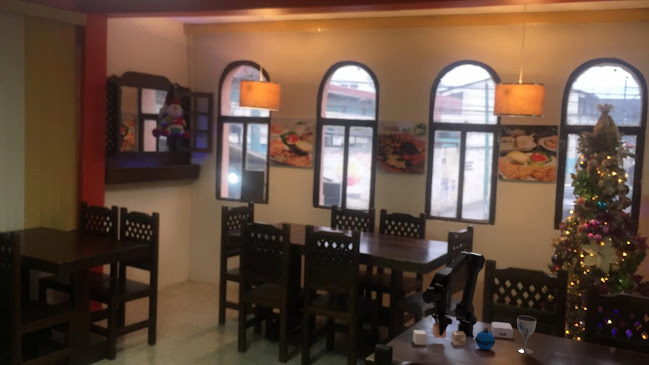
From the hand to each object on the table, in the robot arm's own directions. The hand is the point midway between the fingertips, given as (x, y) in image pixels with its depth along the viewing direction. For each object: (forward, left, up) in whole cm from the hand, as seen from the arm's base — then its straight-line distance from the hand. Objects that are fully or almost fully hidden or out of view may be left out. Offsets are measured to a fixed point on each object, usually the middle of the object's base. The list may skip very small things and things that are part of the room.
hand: (439, 333), depth 278 cm
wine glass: (-37, +8, -5) cm, 38 cm away
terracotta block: (0, 0, -1) cm, 1 cm away
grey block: (+9, 0, -5) cm, 10 cm away
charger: (-35, -17, -5) cm, 39 cm away
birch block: (-9, 0, -5) cm, 10 cm away
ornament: (-19, +7, -5) cm, 21 cm away
